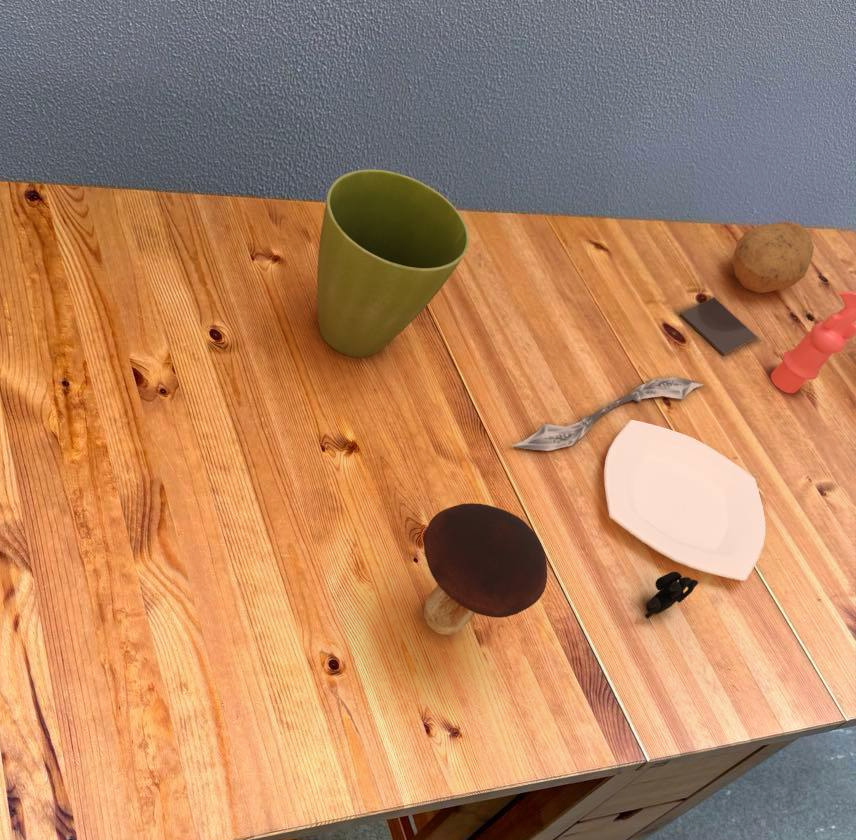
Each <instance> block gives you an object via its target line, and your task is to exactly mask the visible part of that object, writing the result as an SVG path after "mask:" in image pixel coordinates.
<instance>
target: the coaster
mask: <svg viewBox="0 0 856 840" xmlns="http://www.w3.org/2000/svg"><path fill="white" fill-rule="evenodd" d="M679 316H680V317H681V318H682V319H683V320H684V321H685V322H686V323H687V324H688V325H689V326H690V327H692V329H694V330H695V331H696V332H697V333H698V334H699V335H700V336H701V337H702V338H703V339H704V340H705V341H707V343H709V344H710V345H711V346H712V347H713V348H714V349H715V350H716V352H718V353H719V354H720V355H721V356H722V357H725V356H726V355H728V354H730V353H732V352H734V351H736V350H738V349H740V348H742V347H744V346H746V345H748V344H750V343H751V342H753V341H755V340H756V339H757V338H758V336H757V335H756V334H754V333H753V332H752V330H750V329H749V328H748V327H747V326H746V325H745V324H744V323H743V322H741V320H739V319H738V318H737V317H736V316H735V314H733V313H732V312H731V311H730V310H729V309H727V307H725V306H724V305H723V304H722V303H721V302H720V301H719V300H718V299H716V298H715V297H712V298H710V299H707V300H706V301H703V302H701V303H699V304H697V305H695V306H692V307H690V308H689V309H686V310H684V311H682V312H680V313H679Z"/></svg>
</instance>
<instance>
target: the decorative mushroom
mask: <svg viewBox="0 0 856 840" xmlns="http://www.w3.org/2000/svg"><path fill="white" fill-rule="evenodd" d="M423 552H424V555H425V561H426V564H427V566H428V569H429V572H430V574H431V576H432V577H433V579H434V581H435V582H436V586H435V587H434V588H433V590H432V591H431V592H430V593H429V595H428V596H427V598H426V600H425V604H424V609H423V616H424V620H425V622H426V624H427V626H428V627H429V629H431V631H432V632H434V633H436V634H438V635H442V636H446V635H447V636H448V635H449V636H450V635H453V634H454V635H455V634H456V633H458V632H460V631H461V630H463V629H464V628H465V627H466V626H467V625H468V623H469V622H470V621H471V620H472V619H473V618H474V616H475V614H476V615H480V616H485V617H490V618H497V619H498V618H499V619H500V618H501V619H502V618H508V617H512V616H514V615H518V614H519V613H522V612H524V611H525V610H527V609H529V608H530V607H532V606H534V605H535V604H536V603H537V602H538V601H539V600H540V599H541V598H542V595H543V594H544V592H545V590H546V587H547V582H548V562H547V556H546V553H545V550H544V547H543V543H542V542H541V541H540V539H539V537H538V536H537V534H536V533H535V532H534V530H533V529H532V527H531V526H529V525H528V524H527V522H526V521H524V520H523V519H522V518H520V516H517V515H515V514H514V513H512V512H509V511H507V510H505V509H502V508H499V507H497V506H493V505H489V504H484V503H476V502H475V503H473V502H472V503H461V504H456V505H453V506H449V507H446V508H444V509H442V510H441V511H439V512H438V513H436V515H434V516H433V517H432V518H431V519H430V521H429V523H428V525H427V527H426V530H425V532H424V536H423Z"/></svg>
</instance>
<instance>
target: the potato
mask: <svg viewBox="0 0 856 840" xmlns="http://www.w3.org/2000/svg"><path fill="white" fill-rule="evenodd" d="M814 249H815V247H814V244H813V241H812V238H811V235H810V233H809V232H808V231H807V230H806V228H804V226H802V225H800V224H799V223H797V222H792V221H781V222H775V223H771V224H764V225H758V226H755V227H754V228H752V229H750V230H748V231H746V232H745V233H743V235H741V237H740V238H739V239H738V240H737V242H736V245H735V249H734V253H733V269H734V274H735V278H736V279H737V280H738V282H739V283H740V284H741V286H742V287H743V288H745V289H747V290H749V291H753V292H755V293H759V294H763V293H769V292H773V291H778V290H783V289H786V288H791V287H792V286H794V285H796V284H797V283H798V282H800V281H801V280H802V279H803V278H804V277H805V276H806V275H807V272H808V270H809V269H810V268H809V267H810V264H811V261H812V259H813V256H814V255H813V254H814Z"/></svg>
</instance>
